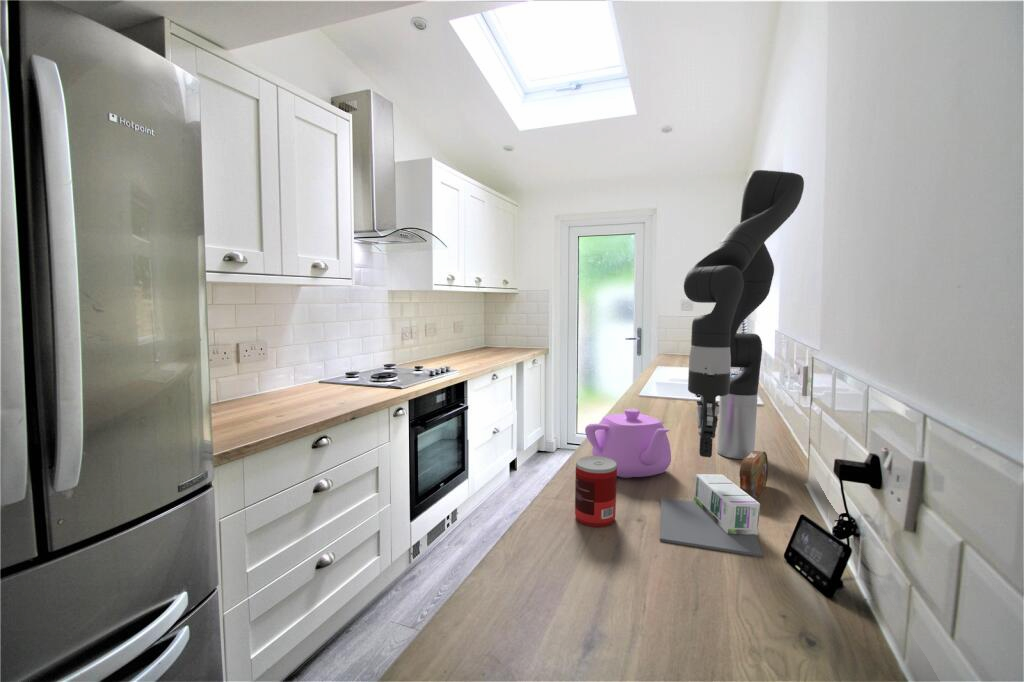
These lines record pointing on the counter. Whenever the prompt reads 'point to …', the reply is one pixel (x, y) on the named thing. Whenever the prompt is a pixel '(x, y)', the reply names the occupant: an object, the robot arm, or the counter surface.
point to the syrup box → (727, 504)
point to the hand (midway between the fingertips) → (705, 455)
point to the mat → (701, 529)
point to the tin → (754, 473)
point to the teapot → (631, 443)
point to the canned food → (595, 491)
